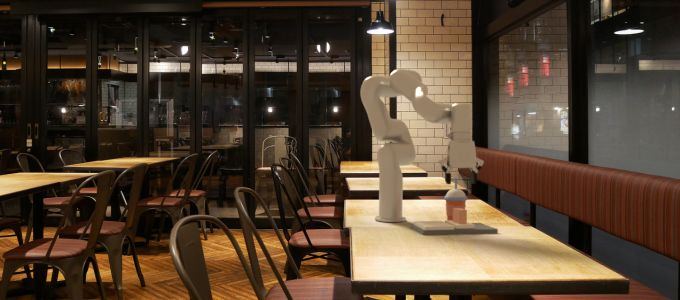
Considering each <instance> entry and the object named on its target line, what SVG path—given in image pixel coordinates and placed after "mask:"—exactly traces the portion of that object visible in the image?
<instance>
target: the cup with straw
mask: <svg viewBox="0 0 680 300" xmlns="http://www.w3.org/2000/svg"><path fill="white" fill-rule="evenodd" d="M443 199H444V200H445V211H446V220H453V208H462V209H465V210H466V201H468V196H466V193H465V191H463V190H462V189H460V188H458V177H455V178H454V188H451V189H449V190H448V191H447V193H446V194H445V195H444V197H443Z"/></svg>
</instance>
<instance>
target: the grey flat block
mask: <svg viewBox="0 0 680 300" xmlns="http://www.w3.org/2000/svg"><path fill="white" fill-rule="evenodd" d="M470 223H471V224H474V225H475V228H467V229H456V228H455V226H453V225H451V224H448V223H446V222H445V221H443V220H425V221H424V220H423V221H422V220H417V221H416V220H415V221H413V223H410V227H409V228H410V229H411V230H413V231H415V232H417V233H419V234H420V235H422V236H424V235H425V236H428V235H432V236H433V235H434V236H435V235H437V236H438V235H473V234H474V235H477V234H478V235H479V234H480V235H481V234H483V235H484V234H485V233H489V234H498V233H499V232H498V228H495V227H493V226H490V225H488V224H485V223H481V222H470Z"/></svg>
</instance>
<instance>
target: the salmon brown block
mask: <svg viewBox="0 0 680 300" xmlns="http://www.w3.org/2000/svg"><path fill="white" fill-rule="evenodd" d="M467 220H468V210H467V209H466V208H465V209H462V208H453V220H447V219H446V220H444V222H446V223H448V224H451V225H453V226H455V228H456V229H467V228H475V225H474V224H471V223H472V222H469V221H467Z"/></svg>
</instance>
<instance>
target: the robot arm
mask: <svg viewBox="0 0 680 300" xmlns="http://www.w3.org/2000/svg"><path fill="white" fill-rule="evenodd" d="M428 91H429V88H428V86H427V85H426V84H424V83H423V79H422V76H421V74H420V73H418V72H417V71H415V70H411V69H406V68H405V69H404V68H398V69H394V70H393V71H392V72H391V73H390V75H389V76H384V75H370V76H368V77H366V78H365V79H364V80H363V81H362V84H361V86H360V98H361V103H362V104H363V105H362V106H364V109H365V111H366V113H367V117H368V121H369V124H370V128H371V130H372V133H373V135H374V138H375V139H376V140H377V141H379V142H383V144H381V145H380V146H379V148H378V149H377V152H376V153H377V154H376V157H377V159H376V160H377V164H378V173H379V177H378V179H379V182H378V183H379V184H378V185H379V186H378V187H379V188H378V189H379V190H378V215H377V216H375V217H374V221H377V222H383V223H402V222H406V220H407V218H406V216H403V194H404V193H403V192H404V190H403V188H404V187H403V186H404V185H403V184H404V178H403V172H402V169H401V167H402V166H403V167H404V166H410V165H411V164H413V163H414V162H415V160H416V155H417V154H416V153H417V152H416V149H415V145H414V143H413V139H412V136H411V134H410V130H409V127H408V126H407V124H406V123H405V122H404V121H403V120H401V119H397V118H391V116H390V114H389V111H388V107H387V106H386V104H385V102H384V101H383V100H382V99H381V98H383V97H384V98H397V97H400V96H403V97H404V98H405V99H406V100H408V101H409V102H411V104H412V107H413V110H414V111H415V112H416V113H417V114H418V115H419V116H420V117H422V118H423V119H424V120H426V121H427V122H429V123H431V124H439V125H440V124H441V125H449V124H450V132H449V133H447V134H446V135H447V139H449V141H448V144H447V145H448V146H447V152H446V156H445V157H443V158H441V159H440V160H438V161H437V163H438V165H439V167H440V169H441V170H442V171H443V173H444V181H445V184H447V185H451V184H452V173H451V172H452V170H453V169H470V171H471V173H470V184H472V185H476V183H477V181H478V174H479V171H480V170H481V169H482V167H483V165H484V164H485V161H484V160H483V159H480V158H479V157H478V156H477V152H476V151H477V150H476V145H475V140H472V139H473V138H472V136H473V135H472V134H473V133H472V132H473V129H472V128H473V125H472V123H473V118H472V117H473V106H472V105H471V104H470V103H465V102H464V103H463V102H462V103H460V102H459V103H453V104H450V103H441V102H440V103H439V102H435V101H434V100H432V99H431V98H429V97H428V93H429V92H428ZM384 142H386V143H384ZM444 163H446V166H445V164H444Z"/></svg>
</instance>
